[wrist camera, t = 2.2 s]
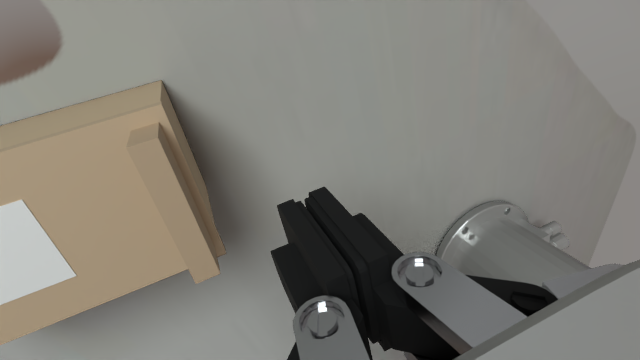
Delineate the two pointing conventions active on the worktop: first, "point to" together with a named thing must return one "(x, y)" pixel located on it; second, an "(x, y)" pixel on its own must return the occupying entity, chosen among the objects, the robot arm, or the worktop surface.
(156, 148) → the lid
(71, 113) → the box
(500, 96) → the worktop surface
